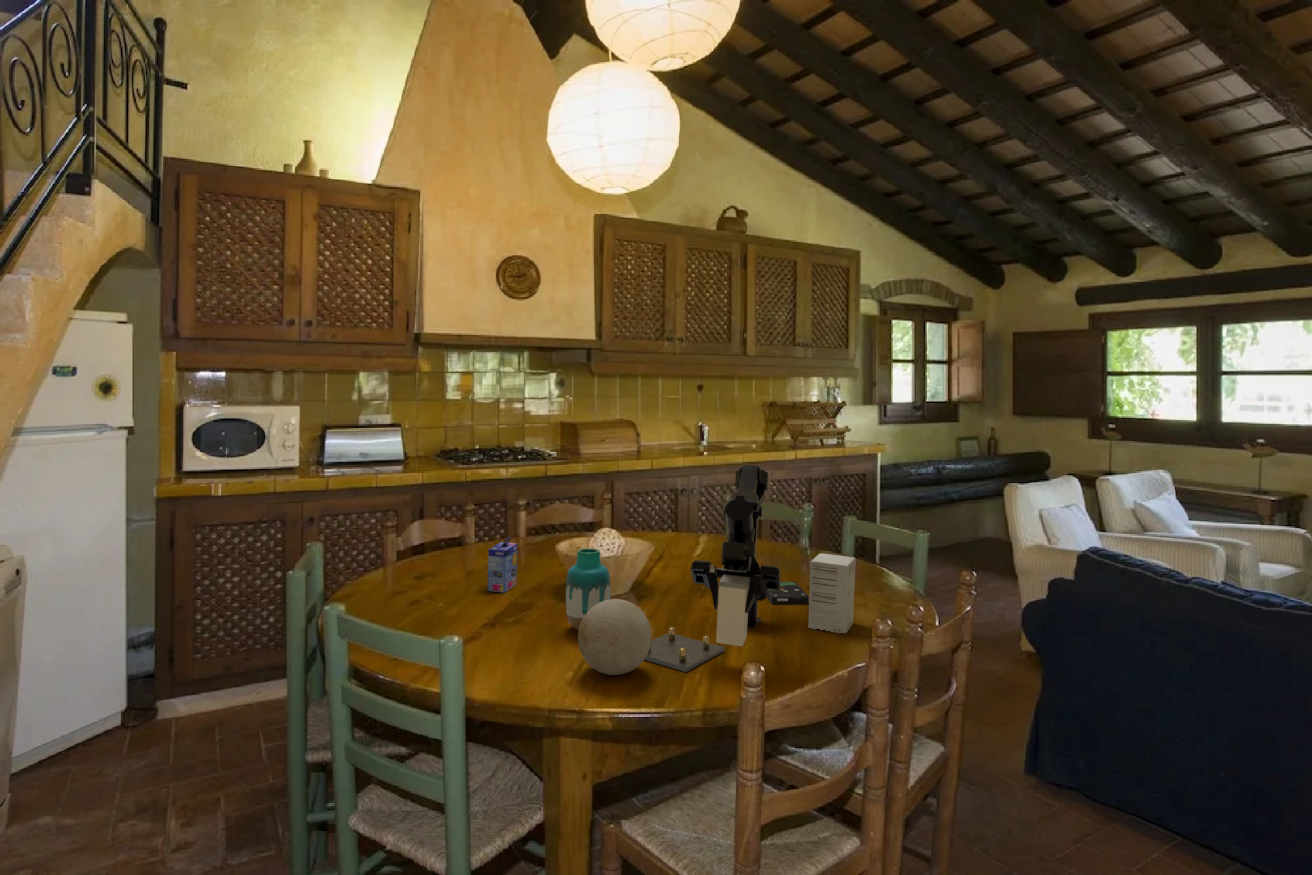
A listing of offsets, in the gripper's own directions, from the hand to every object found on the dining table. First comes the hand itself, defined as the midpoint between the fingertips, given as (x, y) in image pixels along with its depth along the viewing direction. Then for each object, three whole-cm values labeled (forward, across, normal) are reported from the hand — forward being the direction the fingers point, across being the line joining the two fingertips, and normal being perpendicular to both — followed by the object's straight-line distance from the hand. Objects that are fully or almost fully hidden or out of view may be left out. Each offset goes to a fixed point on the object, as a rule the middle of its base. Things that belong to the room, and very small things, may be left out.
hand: (730, 610), depth 156 cm
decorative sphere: (+15, -22, +3) cm, 27 cm away
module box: (+4, 0, +6) cm, 7 cm away
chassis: (+5, -12, +13) cm, 19 cm away
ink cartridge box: (-20, -71, +38) cm, 83 cm away
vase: (-2, -36, +20) cm, 41 cm away
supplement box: (-15, +20, +33) cm, 42 cm away
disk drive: (-30, +6, +49) cm, 58 cm away
